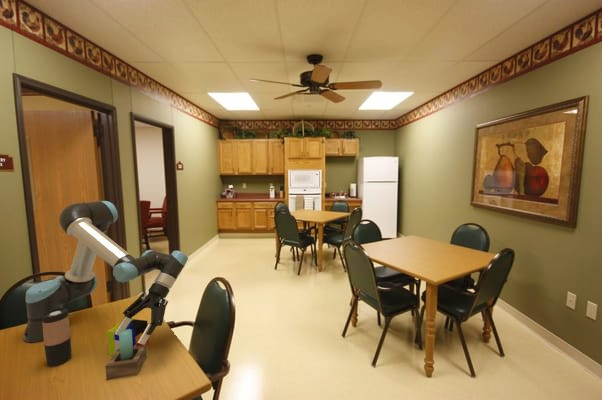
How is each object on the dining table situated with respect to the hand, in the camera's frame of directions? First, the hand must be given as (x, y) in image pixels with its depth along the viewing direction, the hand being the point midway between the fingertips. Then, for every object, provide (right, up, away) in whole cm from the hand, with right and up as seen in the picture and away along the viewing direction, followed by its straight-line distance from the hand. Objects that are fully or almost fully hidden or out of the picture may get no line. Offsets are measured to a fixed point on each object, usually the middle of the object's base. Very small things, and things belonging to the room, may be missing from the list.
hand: (128, 339), depth 100 cm
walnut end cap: (-1, -11, 0) cm, 11 cm away
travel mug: (-30, -11, +5) cm, 33 cm away
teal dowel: (-1, -9, 0) cm, 9 cm away
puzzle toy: (-7, -10, +12) cm, 18 cm away
